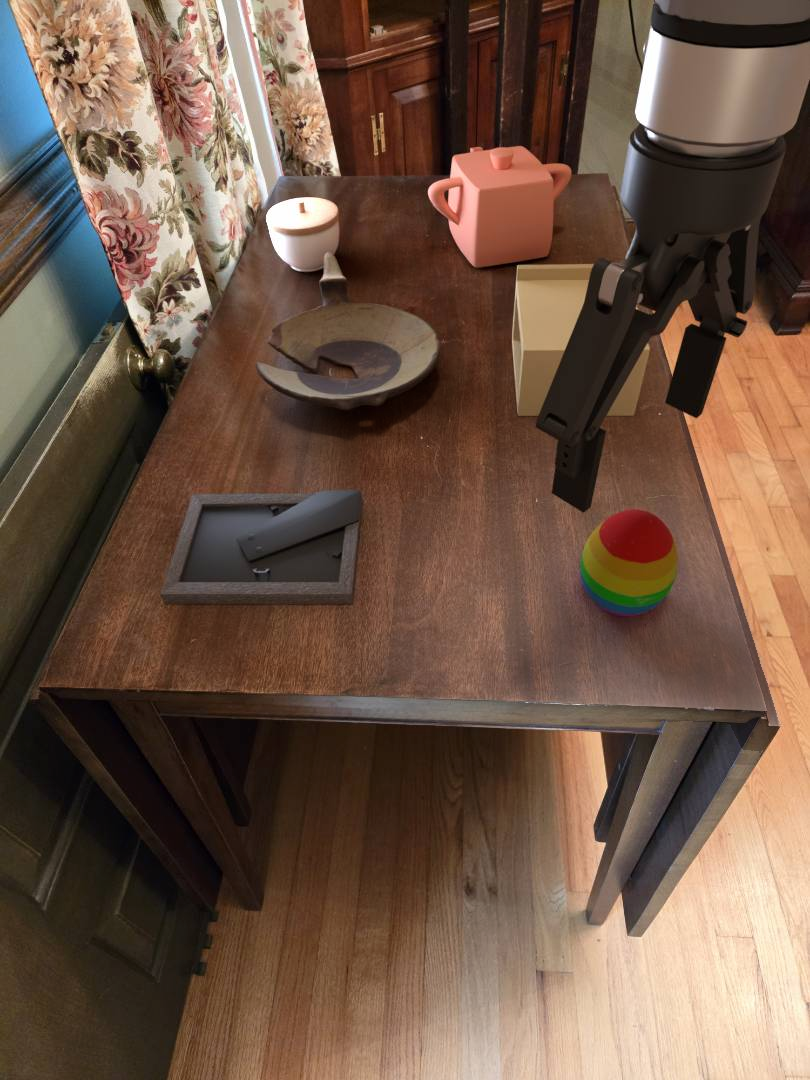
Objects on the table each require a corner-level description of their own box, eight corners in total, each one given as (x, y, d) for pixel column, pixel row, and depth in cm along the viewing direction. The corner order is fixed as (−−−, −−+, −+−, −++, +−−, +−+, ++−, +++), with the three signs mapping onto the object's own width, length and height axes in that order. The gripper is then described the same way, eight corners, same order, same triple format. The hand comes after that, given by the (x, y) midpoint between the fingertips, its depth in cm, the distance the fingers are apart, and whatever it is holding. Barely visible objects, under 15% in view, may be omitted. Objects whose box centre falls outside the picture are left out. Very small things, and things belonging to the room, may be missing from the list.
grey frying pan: (237, 432, 86) (222, 378, 80) (305, 300, 105) (296, 249, 100) (424, 448, 82) (422, 393, 77) (457, 308, 102) (458, 256, 96)
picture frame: (363, 503, 77) (196, 504, 78) (361, 489, 75) (191, 491, 76) (352, 604, 68) (164, 604, 69) (350, 591, 66) (158, 591, 67)
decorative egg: (660, 638, 64) (688, 565, 57) (568, 616, 66) (583, 543, 59) (669, 570, 69) (696, 495, 62) (583, 551, 71) (599, 476, 64)
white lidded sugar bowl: (301, 287, 108) (291, 224, 101) (261, 262, 113) (249, 201, 106) (357, 261, 112) (351, 200, 105) (316, 239, 118) (308, 179, 111)
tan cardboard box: (615, 339, 95) (630, 263, 87) (634, 416, 85) (653, 337, 77) (511, 340, 96) (517, 264, 88) (517, 416, 85) (524, 338, 78)
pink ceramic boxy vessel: (581, 256, 110) (595, 159, 100) (442, 278, 108) (441, 181, 97) (536, 202, 123) (544, 112, 113) (410, 221, 121) (407, 130, 110)
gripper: (765, 54, 43) (681, 357, 59) (483, 188, 33) (472, 515, 48) (894, 78, 40) (767, 395, 55) (624, 239, 29) (562, 577, 44)
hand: (630, 452), depth 52 cm, fingers open, 13 cm apart
